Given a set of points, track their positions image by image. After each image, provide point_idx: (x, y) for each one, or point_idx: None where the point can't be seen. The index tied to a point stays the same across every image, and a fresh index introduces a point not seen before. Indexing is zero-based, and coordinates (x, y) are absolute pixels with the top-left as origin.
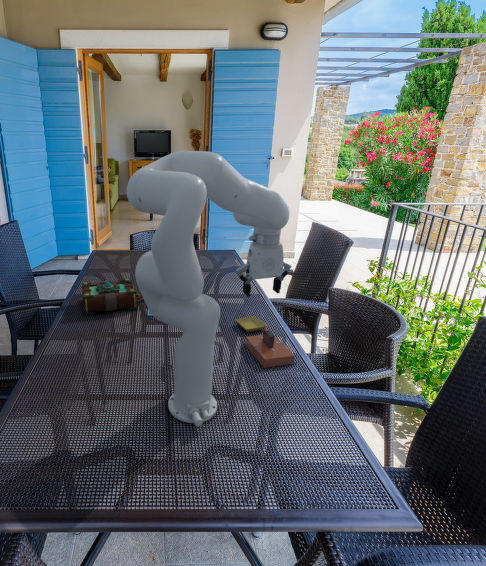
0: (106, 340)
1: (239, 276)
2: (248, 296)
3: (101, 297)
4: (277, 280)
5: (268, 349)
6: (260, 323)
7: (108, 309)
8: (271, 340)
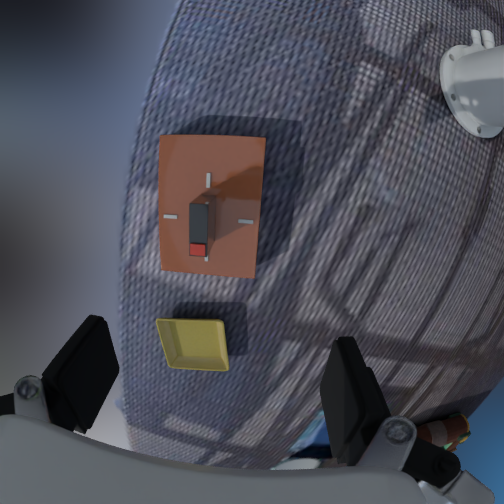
0: (487, 344)
1: (464, 470)
2: (350, 336)
3: (450, 438)
4: (65, 400)
5: (221, 188)
6: (166, 338)
7: (438, 422)
8: (204, 200)
